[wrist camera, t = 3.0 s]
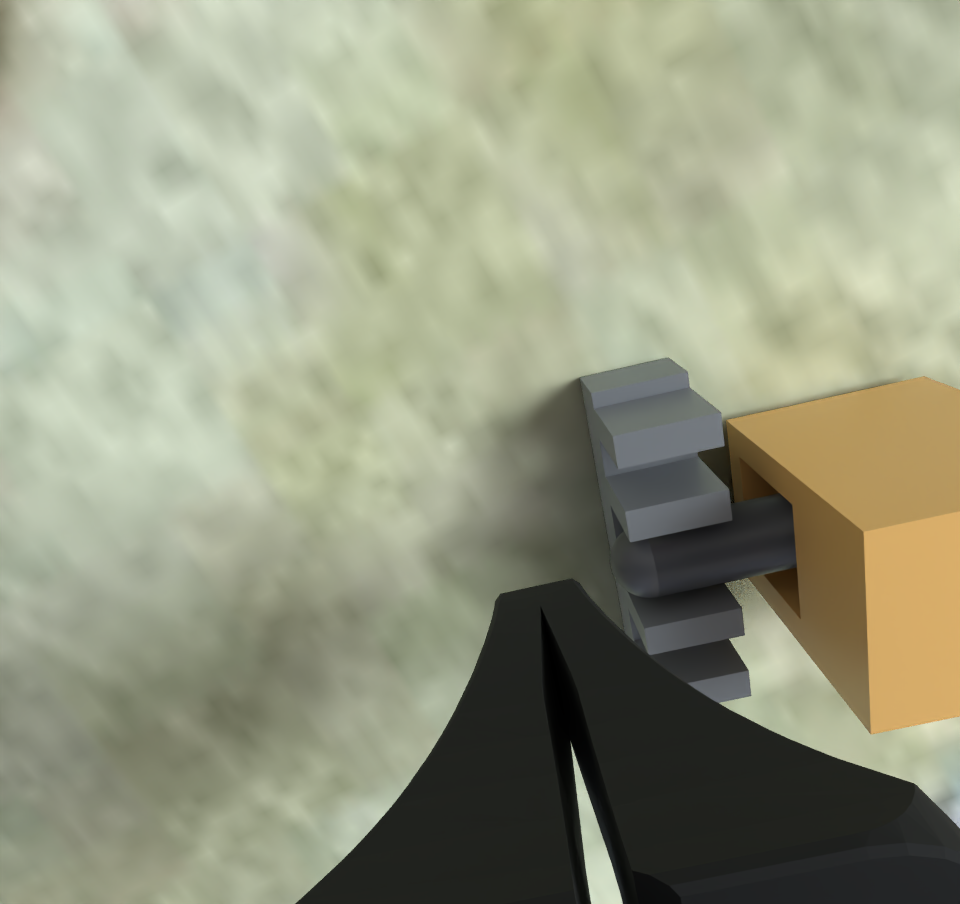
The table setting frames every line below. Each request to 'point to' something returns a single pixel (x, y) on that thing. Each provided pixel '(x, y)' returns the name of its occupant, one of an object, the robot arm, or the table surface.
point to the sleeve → (867, 541)
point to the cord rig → (678, 523)
